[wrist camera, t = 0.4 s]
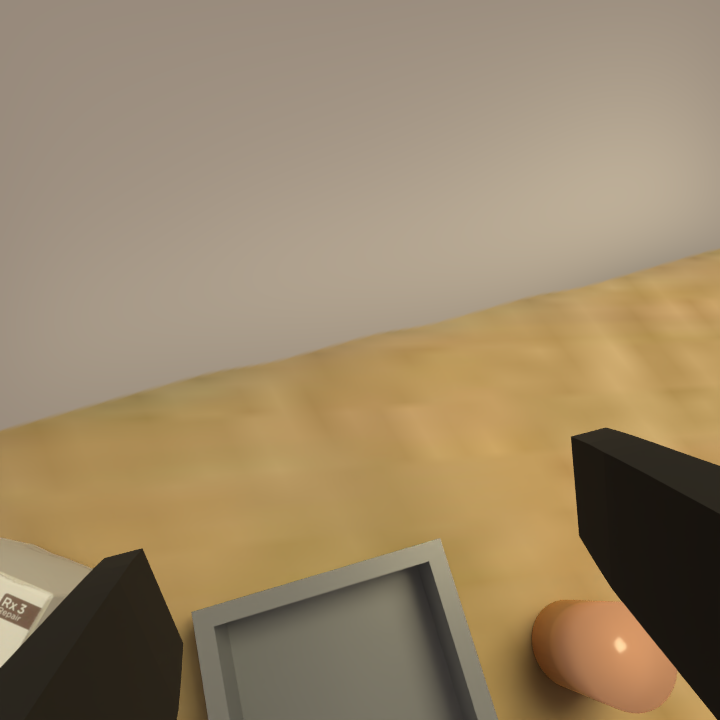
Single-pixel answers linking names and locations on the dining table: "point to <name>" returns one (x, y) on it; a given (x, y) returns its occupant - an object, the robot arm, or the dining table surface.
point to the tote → (346, 646)
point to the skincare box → (31, 590)
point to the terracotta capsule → (602, 654)
